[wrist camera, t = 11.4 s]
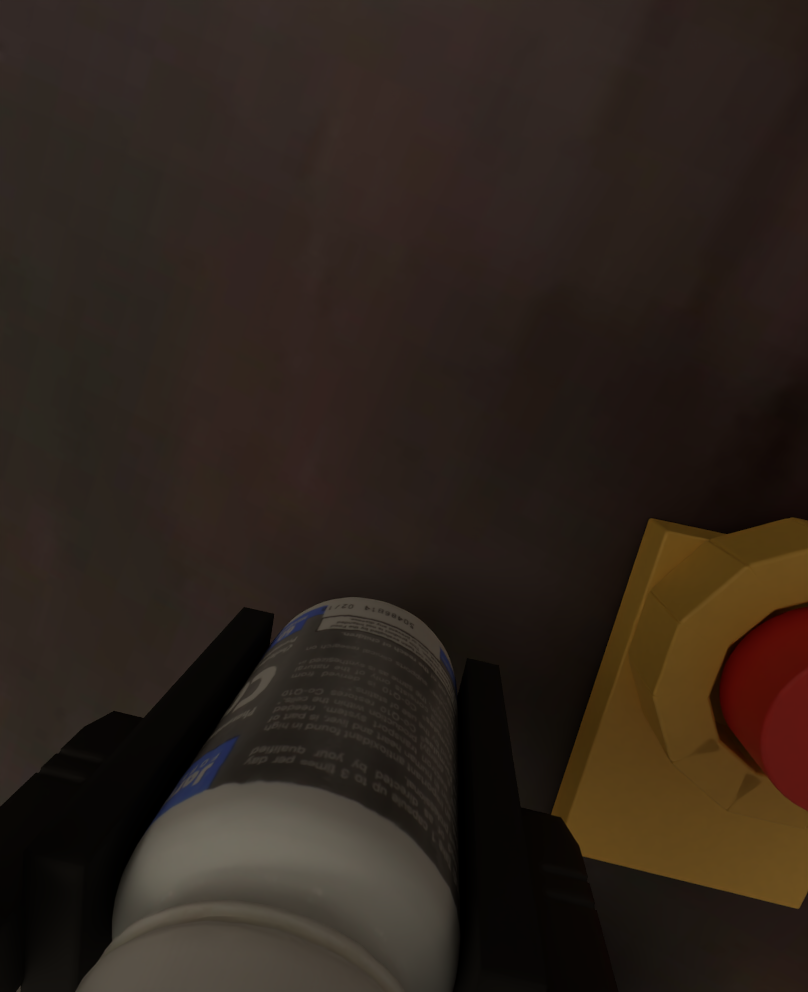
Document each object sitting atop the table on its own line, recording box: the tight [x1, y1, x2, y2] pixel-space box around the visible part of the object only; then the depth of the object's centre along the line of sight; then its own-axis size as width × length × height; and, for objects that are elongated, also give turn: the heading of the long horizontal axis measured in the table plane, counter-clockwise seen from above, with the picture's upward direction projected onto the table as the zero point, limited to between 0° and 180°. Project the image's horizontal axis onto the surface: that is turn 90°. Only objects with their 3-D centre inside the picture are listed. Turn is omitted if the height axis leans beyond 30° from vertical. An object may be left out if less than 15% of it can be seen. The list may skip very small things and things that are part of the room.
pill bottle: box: [75, 597, 461, 992], centre depth 9 cm, size 5×5×8 cm
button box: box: [551, 517, 808, 909], centre depth 13 cm, size 11×7×3 cm, turn 169°
